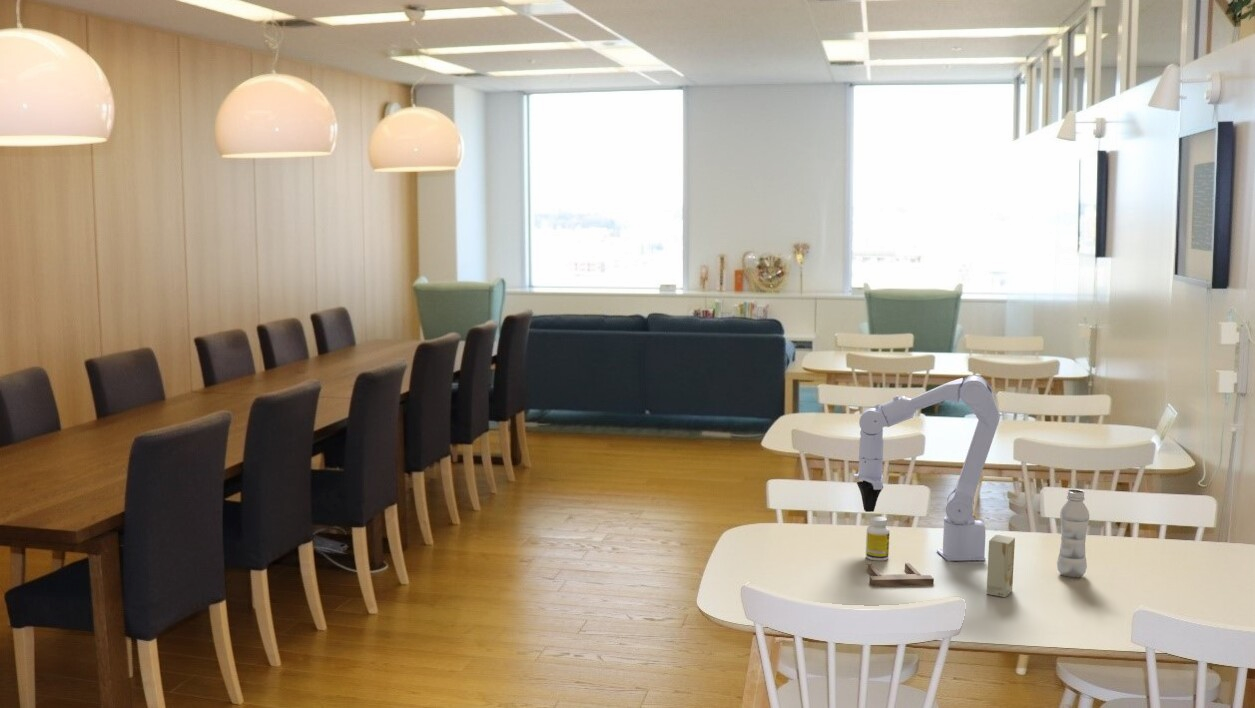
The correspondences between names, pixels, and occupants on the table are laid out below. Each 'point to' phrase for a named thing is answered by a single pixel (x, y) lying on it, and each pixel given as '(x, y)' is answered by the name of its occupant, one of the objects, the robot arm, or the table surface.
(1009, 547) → the skincare box
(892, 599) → the table surface
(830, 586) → the table surface
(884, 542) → the supplement bottle
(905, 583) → the wooden bracket frame
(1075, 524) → the plastic bottle
